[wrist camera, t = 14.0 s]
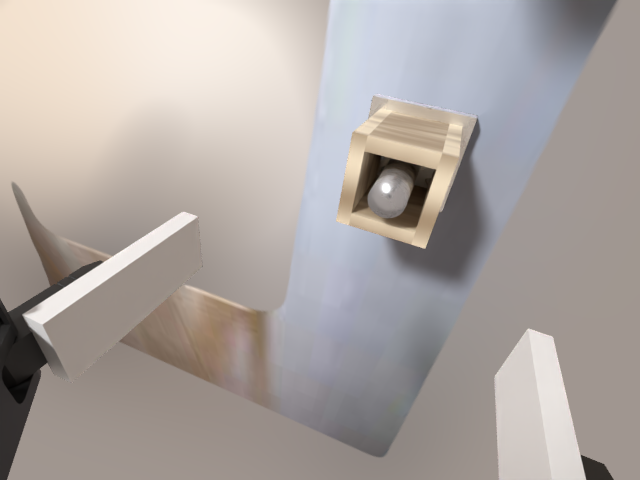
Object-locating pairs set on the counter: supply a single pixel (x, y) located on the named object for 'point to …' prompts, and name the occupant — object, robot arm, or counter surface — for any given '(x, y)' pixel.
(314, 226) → the counter surface
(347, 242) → the counter surface
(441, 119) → the post stand
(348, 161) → the birch sleeve
